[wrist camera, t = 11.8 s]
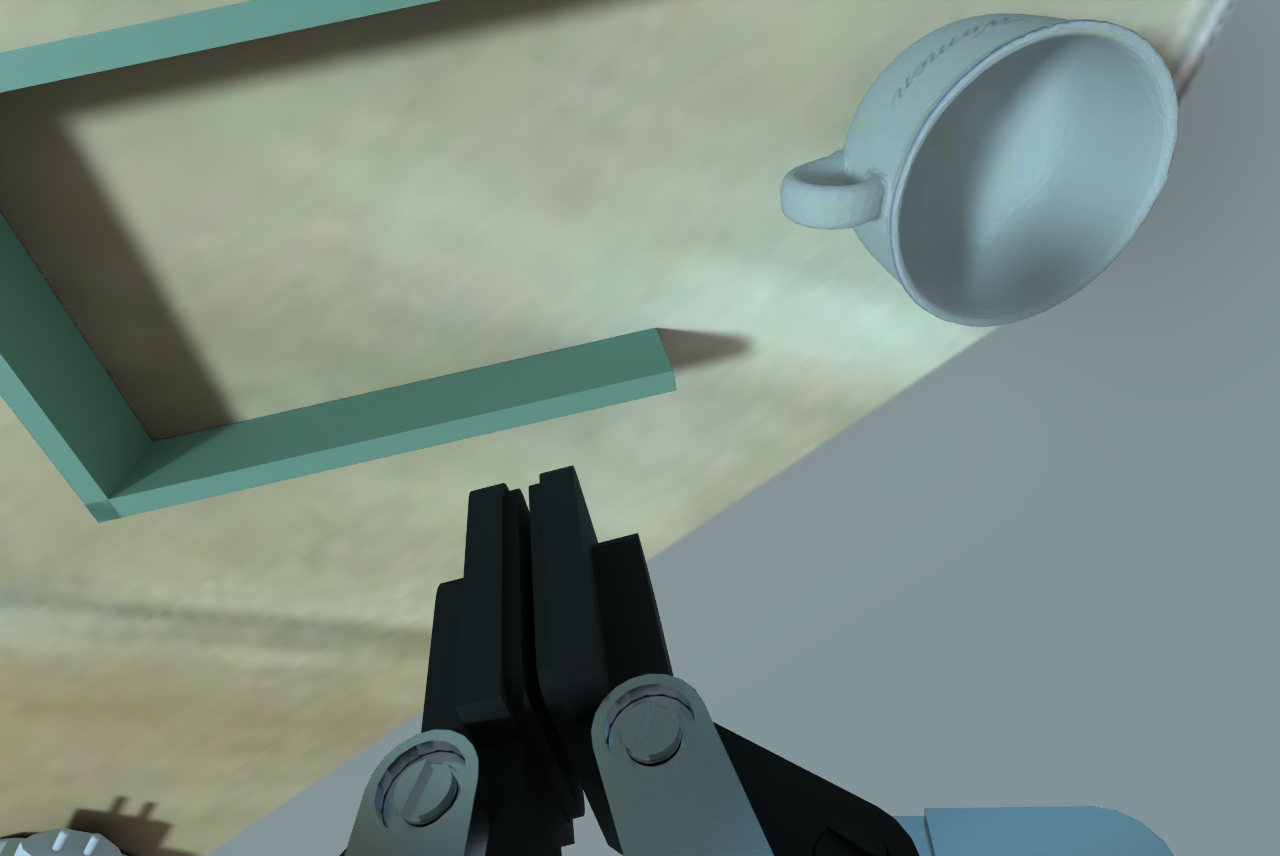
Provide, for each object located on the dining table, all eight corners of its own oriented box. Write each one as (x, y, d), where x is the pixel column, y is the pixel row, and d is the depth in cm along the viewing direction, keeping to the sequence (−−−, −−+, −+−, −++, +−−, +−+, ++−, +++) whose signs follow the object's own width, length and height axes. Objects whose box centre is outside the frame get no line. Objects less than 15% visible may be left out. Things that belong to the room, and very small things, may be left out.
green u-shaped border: (-119, 81, 26) (-227, 100, 22) (585, -66, 27) (598, -72, 23) (143, 463, 35) (98, 522, 31) (659, 346, 36) (676, 390, 32)
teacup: (1086, 27, 31) (1245, 42, 24) (991, 272, 36) (1100, 340, 30) (776, -21, 28) (858, -18, 22) (725, 251, 34) (777, 321, 27)
